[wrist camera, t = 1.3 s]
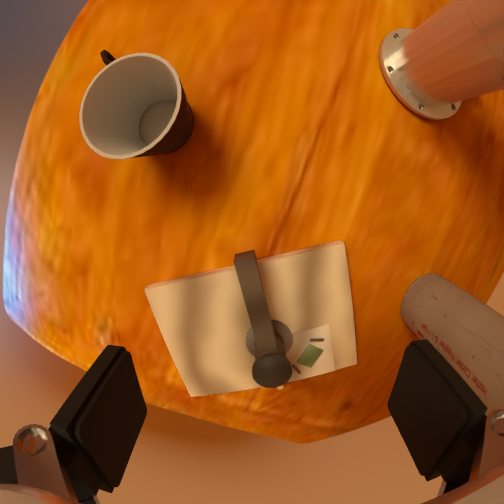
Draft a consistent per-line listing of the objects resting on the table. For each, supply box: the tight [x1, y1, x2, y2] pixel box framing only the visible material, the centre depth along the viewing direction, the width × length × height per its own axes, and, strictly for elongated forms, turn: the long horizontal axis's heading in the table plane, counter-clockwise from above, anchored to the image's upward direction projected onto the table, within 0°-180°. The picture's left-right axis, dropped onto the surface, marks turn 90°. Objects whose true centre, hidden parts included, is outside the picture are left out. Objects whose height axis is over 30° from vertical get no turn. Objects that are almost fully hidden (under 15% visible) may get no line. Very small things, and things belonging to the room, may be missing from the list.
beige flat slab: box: [144, 240, 357, 397], centre depth 31 cm, size 22×16×2 cm
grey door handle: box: [234, 250, 292, 390], centre depth 27 cm, size 18×4×5 cm, turn 14°
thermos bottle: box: [401, 274, 504, 416], centre depth 18 cm, size 8×8×28 cm
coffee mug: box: [79, 50, 194, 159], centre depth 22 cm, size 12×9×10 cm
